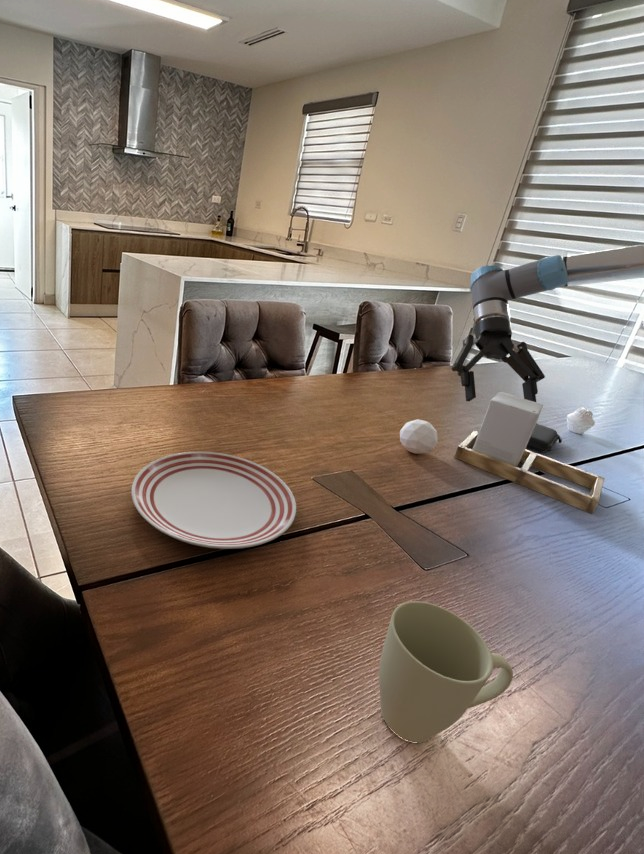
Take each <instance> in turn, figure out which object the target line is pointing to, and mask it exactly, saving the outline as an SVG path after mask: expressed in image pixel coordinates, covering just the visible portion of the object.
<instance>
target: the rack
mask: <svg viewBox="0 0 644 854" xmlns="http://www.w3.org/2000/svg"><path fill="white" fill-rule="evenodd" d="M478 433H479V431H477V430H472V432H471V433H470V434H469V435H468V436H467V437H466V438H465V439H463V441H462V442H461V443H459V445H458V446H457V448H456V450H455V452H454V456H453V459H456V460H459V461H462V462H464V463H466V464H469V465H471V466H474V467H476V468H478V469H482V470H483V471H486V472H489V473H491V474H493V475H496V476H499V477H500V478H503V479H506V480H508V481H511V482H513V483H515V484H518V485H521V486H523V487H525V488H527V489H530V490H532V491H534V492H537V493H540V494H543V495H545V496H547V497H549V498H552V499H553V500H554V499H555V500H557V501H560V502H562V503H564V504H566V505H569V506H571V507H574V508H576V509H579V510H582V511H584V512H586V513H589V514H590V515H591V514H593V513H594V511H595V510H596V508H597V506H598V504H599V502H600V498H601V495H602V492H603V487H604V482H605V477H604V476H600V475H597V474H595V473H592V472H589V471H588V470H584V469H582V468H578V467H576V466H573V465H571V464H568V463H565V462H562V461H559V460H556V459H554V458H551V457H549V456H545V455H543V454H540V453H539V452H536V451H533V450H530V449H528V448H525V451H524V453H523V455H522V457H521V460H520V462H519V463H522V466H521V467H518V466H517V467H516V466H513V465H511V464H508V463H505V462H503V461H500V460H498V459H495V458H493V457H490V456H487V455H485V454H482V453H480V452H477V451H475V450H472V449H473V446H474V444H475V441H476V438H477V436H478ZM531 468H535V469H538V470H541V471H543V472H545V473H548V474H551V475H554V476H555V477H558V478H560V479H564V480H566V481H570V482H572V483H575V484H577V485H579V486H583V487H585V488H587V489H590V492H589V494H588V493H585V492H583V491H580V490H577V489H575V488H572V487H569V486H567V485H565V484H562V483H559V482H556V481H554V480H551V479H549V478H547V477H544V476H541V475H538V474H536V473H533V472H531V471H530V470H531Z"/></svg>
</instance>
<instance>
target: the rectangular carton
mask: <svg viewBox="0 0 644 854" xmlns="http://www.w3.org/2000/svg"><path fill="white" fill-rule="evenodd" d="M543 406H544V404H543V403H540V402H537V401H536V402H533V401H530V400H526V399H524V397H519V396H516V395H513V394H510V393H506V392H502V391H498V392H497V393H496V395H494V397H493V398H491V399H490V401H489V403H488V407H487V409H486V412H485V415H484V417H483V420H482V423H481V425H480V428H479V431H478V432H479V433H478V436H477V438H476V441H475V444H474V445H473V446H472V448H471V449H472V450H475V451H477V452H480V453H482V454H485V455H487V456H490V457H493V458H495V459H498V460H500V461H503V462H505V463H508V464H511V465H513V466H516V467H518V466H519V464H520V463H521V462H520V460H521V457H522V455H523V453H524V451H525V449H527V447H526V446H527V444H528V442H529V439H530V437H531V435H532V432H533V430H534V427H535V425H536V423H537V422H538V420H539V418H540V415H541V412H542V409H543ZM537 424H538V423H537Z"/></svg>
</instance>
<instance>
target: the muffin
mask: <svg viewBox="0 0 644 854" xmlns="http://www.w3.org/2000/svg"><path fill="white" fill-rule="evenodd" d="M595 421H596V420H595V419H593V412H592V411H591V410H590V409H588V408H584V407H580V408H578V407H577V409H576V410H575V411H572V412H570V413H568V414H567V415H566V424H567V430H568V431H570V432H571V433H574V434H578V435H582V434H584V433H586V432H587V431H588V430H590V429H592V428H593V427H595V425H596V422H595Z"/></svg>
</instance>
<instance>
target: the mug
mask: <svg viewBox="0 0 644 854" xmlns="http://www.w3.org/2000/svg"><path fill="white" fill-rule="evenodd" d="M385 635H386V636H385V639H384V642H383V647H382V650H381V654H380V660H379V667H378V685H379V703H380V714H381V713H382V714H381V717H382V716H383V718H384V720H385V722H386V723H387V725H388V726H389V727H390V728H391V729H392V730H393V731H394V732H395V733H396V734H398V735H399V736H400V737H402V738H403V739H406V740H408V741H412V742H417V743H420V744H422V743H421V742H423V743H424V741H425V742H427V741H428V740H430V739H432V738H433V737H435V736H436V735H438V734H440V733H442V732H443V731H446V730H447V729H449V728H450V727H451V726H453V725H454V724H455V723H457V721H459V720H460V719H461V718H462V717H463V715H464V714H465V713H466V712H467V711H468V709H470V708H474V707H477V706H479V705H482V704H486V703H487V702H490V701H492V700H494V699H496V698H498V697H499V696H501V695H503V693H504V692H505V691H506V690H507V689H508V688H509V687H510V685H511V684H512V681H513V678H514V670H513V667H512V666H511V664H510V663H509V661H508V660H507V659H506V658H505V657H504V656H503V655H501V654H499V653H496V652H495V653H494V652H491V649H490V647H489V645H488V644H487V642H486V641H485V639H484V638H483V637H482V635H480V633H479V632H478V631H477V630H476V628H474V627H473V626H472V625H471V624H470V623H469V622H468V621H466V620H465V619H463V618H462V617H461V616H459V615H458V614H456V613H454V612H453V611H451V610H449V609H447V608H445V607H443V606H440V605H438V604H435V603H431V602H427V601H419V600H413V601H412V600H411V601H405V602H403V603H400V604H399V605H398V606H396V607H395V609H394V610H393V612H392V614H391V616H390V621H389V625H388V629H387V630H386V634H385ZM494 669H500V671H499V673H498V674H497V676H496V677H495V678H494V679H492V681H491V682H489V683H487V681H488V680H489V678H490V677H491V676H492V674H493V670H494ZM486 683H487V684H486ZM383 718H382V719H383ZM384 720H383V721H384ZM385 722H384V723H385ZM387 725H386V726H387Z"/></svg>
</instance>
